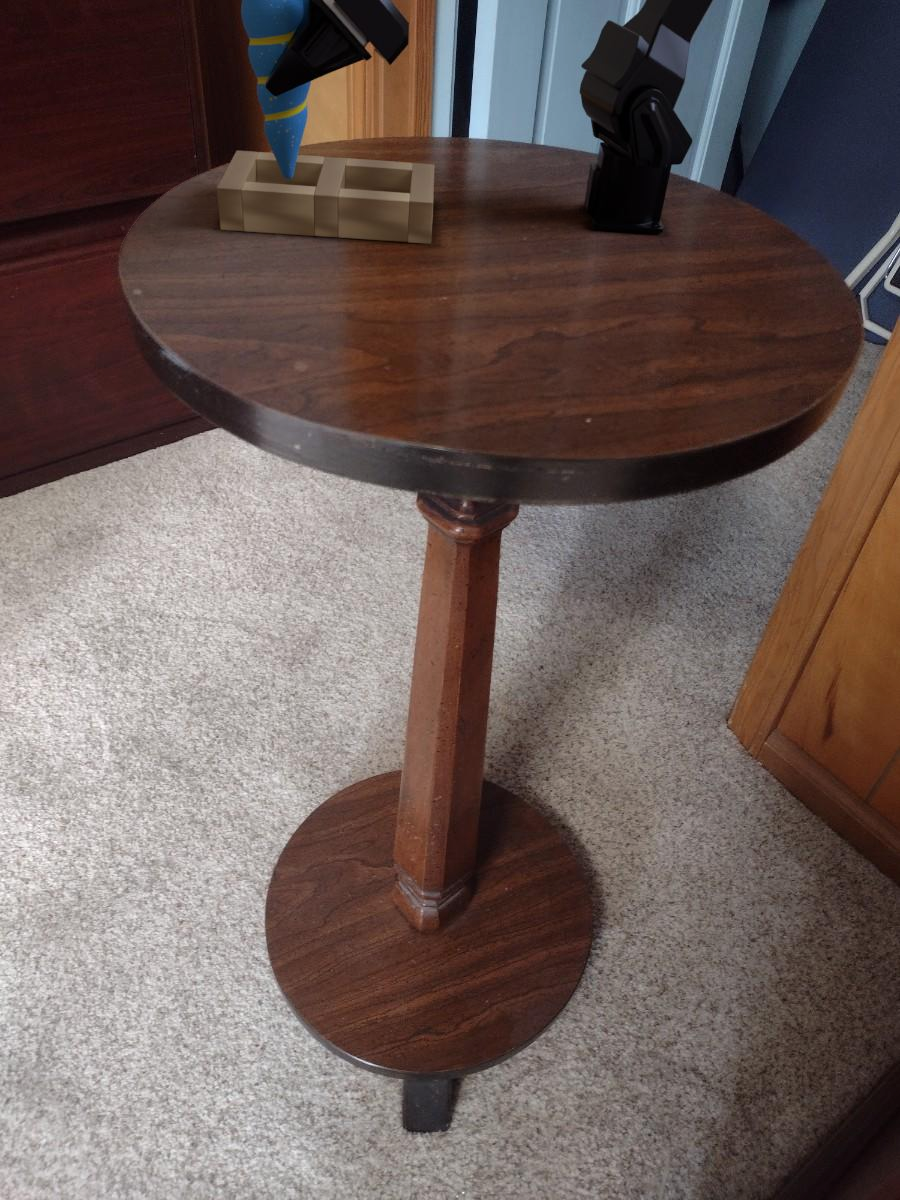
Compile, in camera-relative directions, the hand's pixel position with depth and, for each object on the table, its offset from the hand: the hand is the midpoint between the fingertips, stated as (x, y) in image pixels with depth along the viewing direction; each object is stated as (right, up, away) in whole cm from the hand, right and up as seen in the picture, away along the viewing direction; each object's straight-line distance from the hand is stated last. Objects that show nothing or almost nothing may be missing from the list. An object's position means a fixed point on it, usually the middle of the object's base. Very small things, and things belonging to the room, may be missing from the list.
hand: (262, 82), depth 73 cm
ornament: (+1, -5, +5) cm, 7 cm away
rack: (+4, -5, +14) cm, 15 cm away
